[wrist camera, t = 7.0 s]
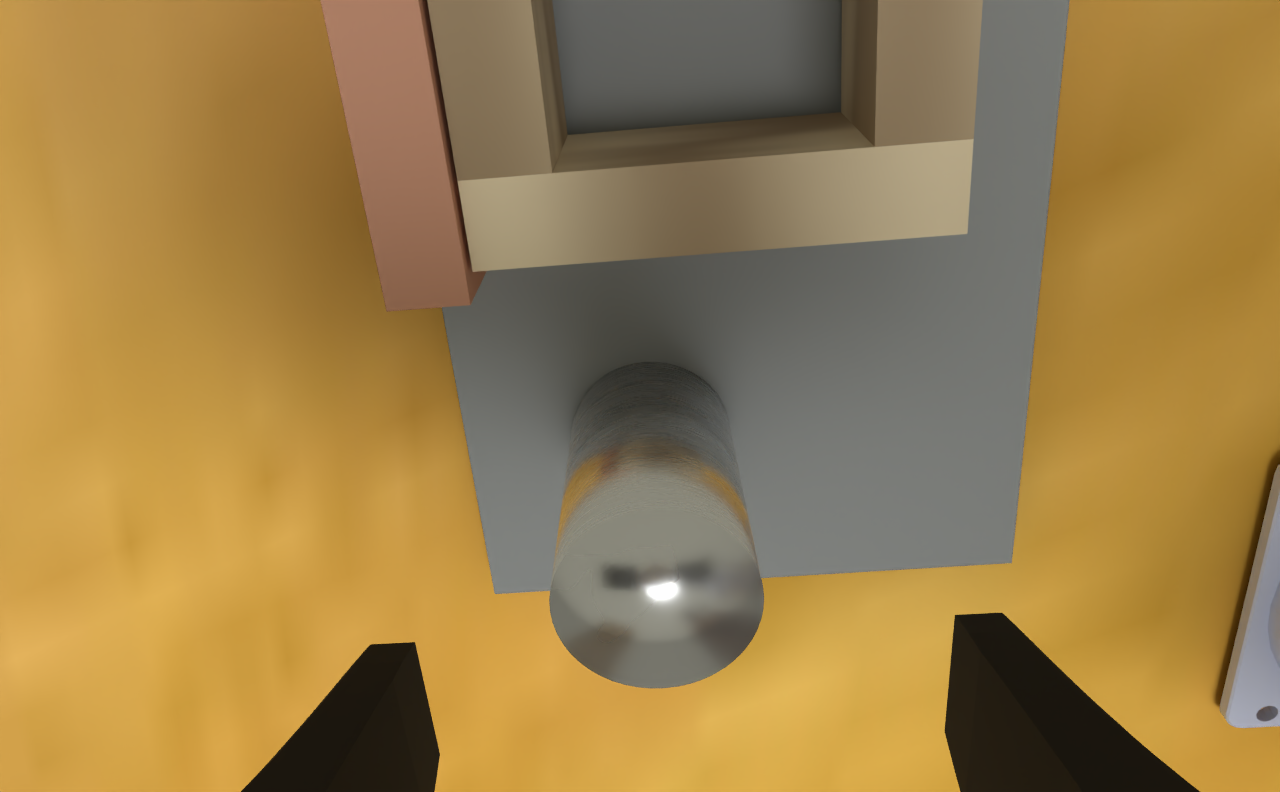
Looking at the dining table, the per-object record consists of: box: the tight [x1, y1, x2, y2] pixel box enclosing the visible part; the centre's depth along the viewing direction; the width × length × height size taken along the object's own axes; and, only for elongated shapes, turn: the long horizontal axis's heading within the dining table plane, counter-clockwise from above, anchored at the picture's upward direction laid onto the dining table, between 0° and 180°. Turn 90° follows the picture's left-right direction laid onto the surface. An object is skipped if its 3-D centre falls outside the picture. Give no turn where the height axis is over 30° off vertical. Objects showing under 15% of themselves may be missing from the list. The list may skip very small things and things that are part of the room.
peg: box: [549, 362, 764, 688], centre depth 18 cm, size 3×3×6 cm
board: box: [321, 0, 1069, 594], centre depth 18 cm, size 12×18×4 cm, turn 5°
